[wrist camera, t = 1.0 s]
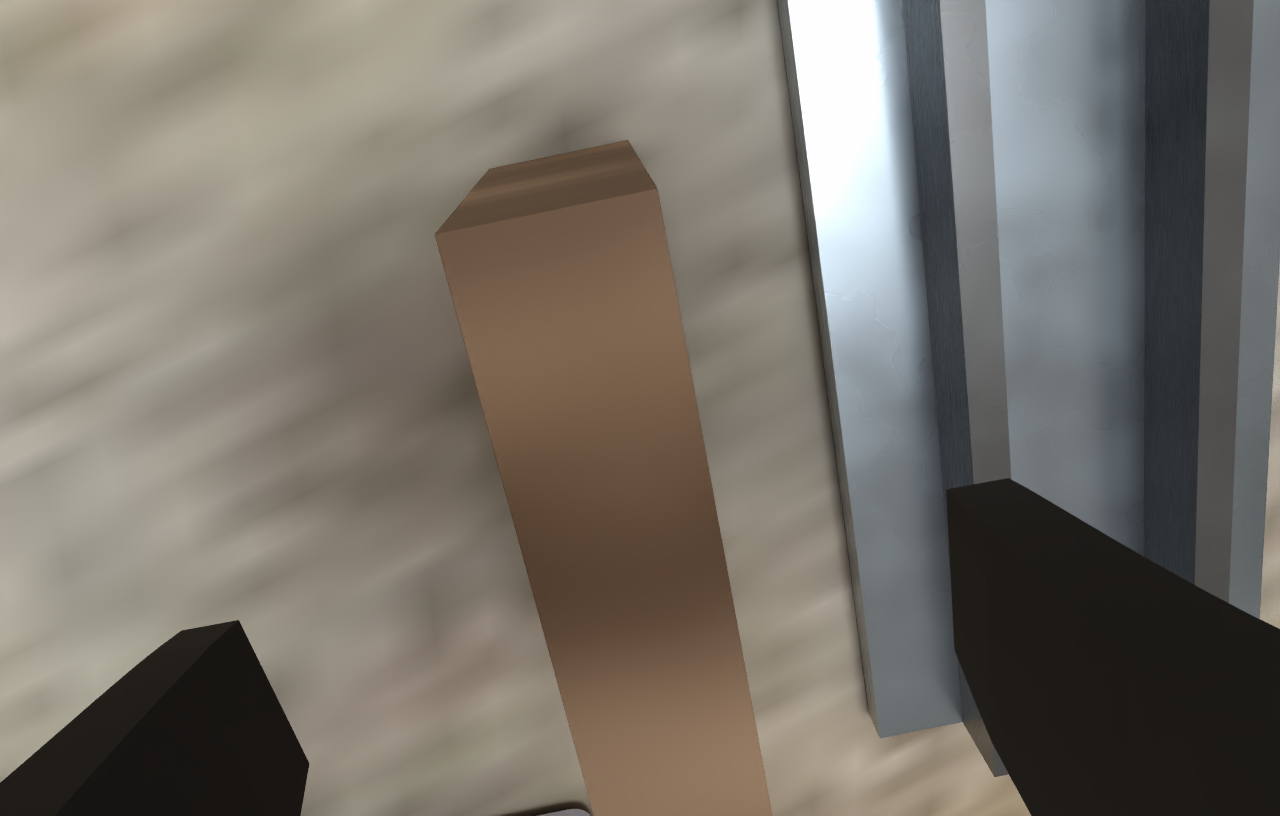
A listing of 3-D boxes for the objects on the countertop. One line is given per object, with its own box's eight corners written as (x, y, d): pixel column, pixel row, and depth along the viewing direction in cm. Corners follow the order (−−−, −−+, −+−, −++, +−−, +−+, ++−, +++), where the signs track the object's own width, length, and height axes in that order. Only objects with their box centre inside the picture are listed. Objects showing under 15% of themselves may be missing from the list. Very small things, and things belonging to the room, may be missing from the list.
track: (1231, 640, 25) (1313, 713, 22) (869, 713, 25) (904, 794, 22) (1269, -210, 18) (1395, -260, 15) (763, -105, 18) (797, -135, 15)
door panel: (718, 612, 24) (781, 863, 16) (604, 635, 24) (615, 895, 17) (627, 140, 20) (656, 188, 12) (489, 168, 20) (434, 234, 12)
